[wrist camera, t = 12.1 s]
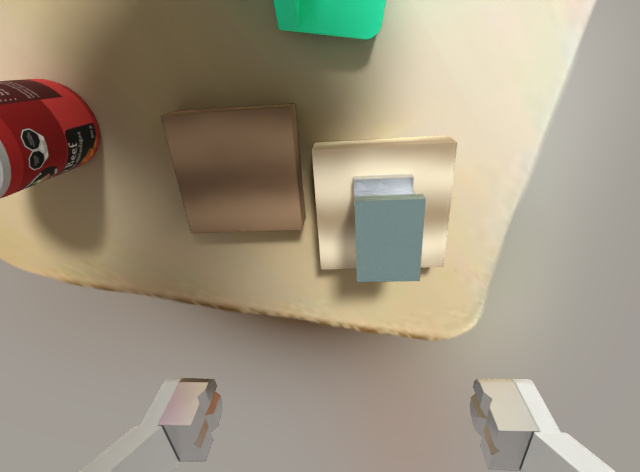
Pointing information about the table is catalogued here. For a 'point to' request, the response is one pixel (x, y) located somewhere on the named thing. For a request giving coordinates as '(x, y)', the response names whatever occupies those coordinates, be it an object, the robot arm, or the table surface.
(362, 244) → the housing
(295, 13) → the camera mount
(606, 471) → the robot arm
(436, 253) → the stand
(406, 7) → the table surface
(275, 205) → the stand
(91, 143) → the canned food
